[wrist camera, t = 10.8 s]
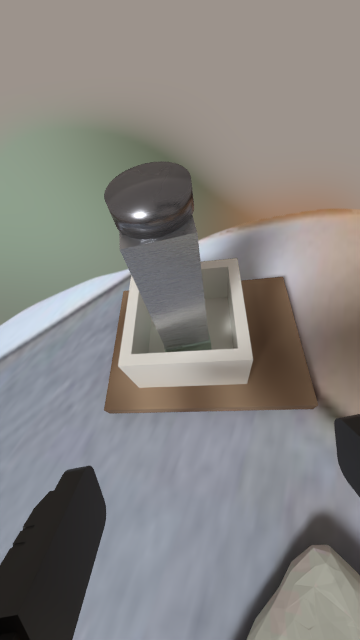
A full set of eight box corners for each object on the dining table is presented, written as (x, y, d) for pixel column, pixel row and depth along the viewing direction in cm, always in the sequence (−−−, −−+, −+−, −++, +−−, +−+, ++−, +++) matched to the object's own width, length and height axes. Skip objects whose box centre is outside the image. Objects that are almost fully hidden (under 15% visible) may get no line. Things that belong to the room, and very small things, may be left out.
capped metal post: (203, 312, 22) (182, 151, 11) (213, 355, 20) (200, 205, 9) (164, 320, 22) (105, 169, 11) (169, 363, 20) (102, 227, 9)
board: (280, 284, 25) (282, 276, 24) (313, 408, 19) (318, 405, 18) (127, 297, 27) (123, 290, 26) (109, 413, 21) (104, 410, 20)
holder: (235, 295, 24) (237, 258, 20) (247, 384, 19) (253, 359, 15) (147, 302, 25) (132, 268, 21) (139, 387, 20) (117, 366, 16)
